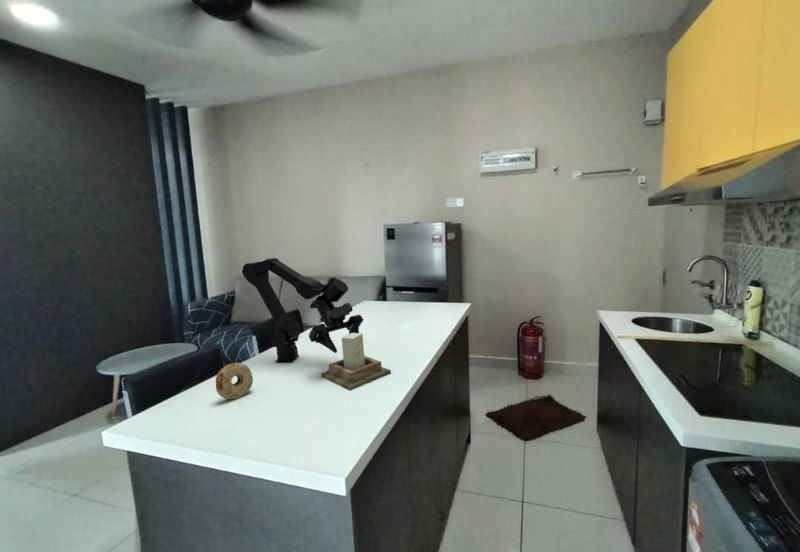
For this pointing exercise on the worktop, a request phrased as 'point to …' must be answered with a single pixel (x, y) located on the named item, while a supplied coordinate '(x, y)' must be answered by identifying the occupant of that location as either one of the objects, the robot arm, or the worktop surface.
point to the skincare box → (353, 351)
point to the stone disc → (237, 389)
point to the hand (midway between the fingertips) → (348, 348)
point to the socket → (355, 373)
